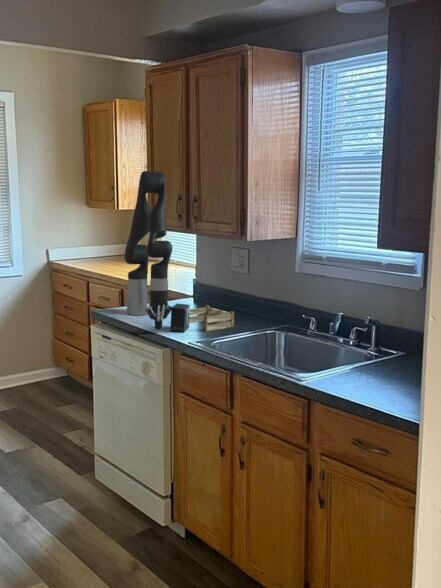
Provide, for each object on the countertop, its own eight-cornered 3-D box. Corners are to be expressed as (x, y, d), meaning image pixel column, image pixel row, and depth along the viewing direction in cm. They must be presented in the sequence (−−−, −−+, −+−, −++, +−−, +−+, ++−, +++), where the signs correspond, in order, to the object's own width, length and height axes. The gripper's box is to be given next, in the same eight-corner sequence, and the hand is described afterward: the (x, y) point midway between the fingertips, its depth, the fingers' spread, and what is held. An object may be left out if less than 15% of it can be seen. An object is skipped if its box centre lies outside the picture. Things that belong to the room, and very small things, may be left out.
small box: (184, 332, 271) (185, 308, 270) (169, 331, 272) (170, 307, 271) (190, 327, 282) (190, 304, 280) (175, 326, 283) (176, 303, 281)
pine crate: (179, 323, 289) (180, 308, 287) (207, 319, 299) (207, 305, 298) (206, 331, 275) (206, 315, 274) (233, 326, 286) (234, 311, 284)
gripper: (166, 286, 273) (165, 326, 276) (140, 288, 265) (140, 329, 267) (177, 288, 268) (176, 329, 270) (150, 291, 259) (150, 332, 262)
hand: (158, 329), depth 269 cm, fingers closed
